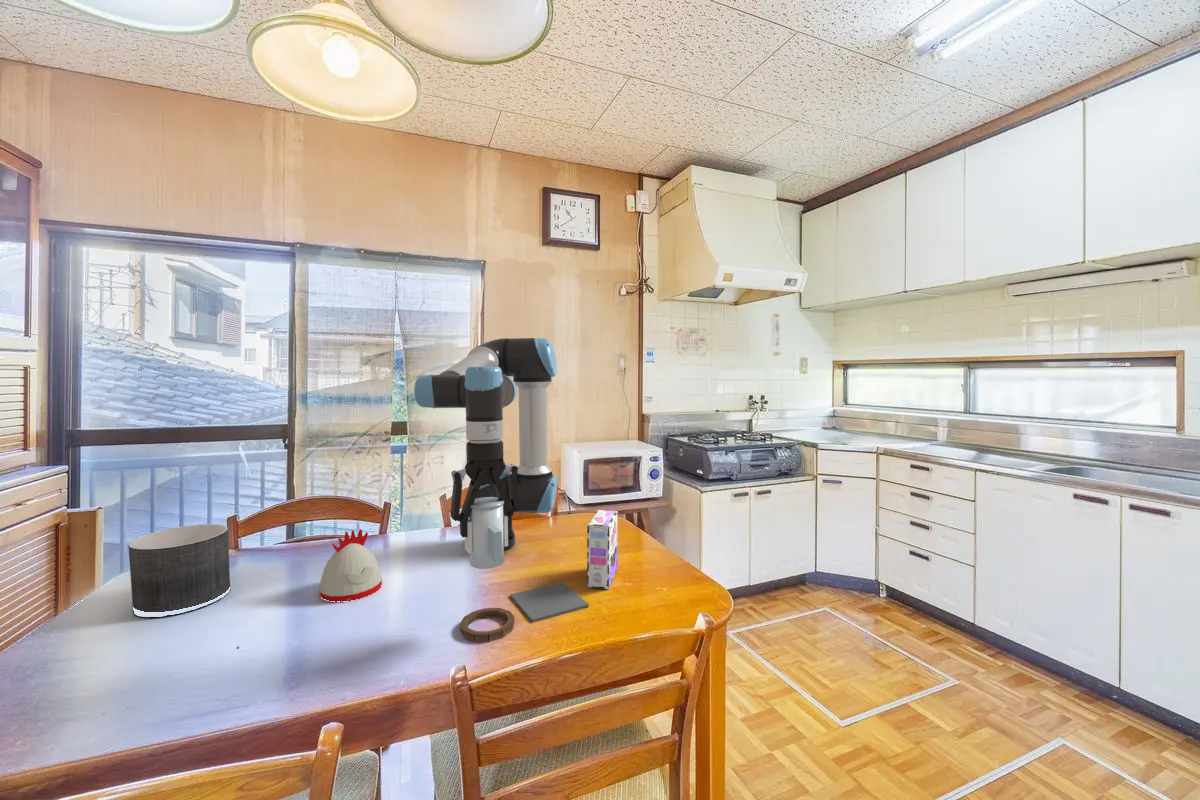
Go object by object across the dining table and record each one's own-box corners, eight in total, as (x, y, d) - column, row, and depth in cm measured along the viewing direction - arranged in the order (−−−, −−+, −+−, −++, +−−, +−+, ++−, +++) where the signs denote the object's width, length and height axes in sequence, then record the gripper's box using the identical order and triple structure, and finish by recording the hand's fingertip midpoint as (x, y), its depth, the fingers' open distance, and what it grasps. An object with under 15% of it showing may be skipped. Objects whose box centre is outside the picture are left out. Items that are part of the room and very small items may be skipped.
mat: (510, 596, 117) (510, 594, 117) (562, 583, 124) (562, 581, 124) (532, 622, 105) (532, 619, 105) (588, 606, 112) (588, 604, 112)
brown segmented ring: (455, 622, 105) (455, 615, 105) (503, 609, 111) (503, 603, 110) (468, 647, 96) (468, 640, 95) (521, 632, 101) (521, 625, 101)
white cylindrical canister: (465, 559, 104) (463, 500, 103) (498, 552, 108) (497, 495, 107) (480, 579, 94) (478, 513, 93) (516, 571, 98) (515, 508, 97)
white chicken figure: (391, 589, 121) (389, 530, 121) (331, 608, 111) (329, 545, 111) (368, 573, 131) (367, 519, 130) (311, 590, 121) (309, 531, 120)
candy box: (609, 590, 121) (609, 525, 120) (586, 588, 122) (586, 524, 121) (618, 568, 134) (618, 510, 133) (597, 566, 135) (597, 508, 134)
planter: (246, 591, 120) (243, 529, 119) (156, 626, 104) (152, 554, 103) (206, 579, 127) (203, 520, 126) (116, 609, 111) (112, 542, 110)
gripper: (439, 447, 92) (442, 563, 94) (536, 439, 103) (537, 544, 104) (431, 441, 99) (434, 551, 101) (523, 434, 109) (524, 534, 111)
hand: (486, 547), depth 102 cm, fingers closed on white cylindrical canister, 7 cm apart
